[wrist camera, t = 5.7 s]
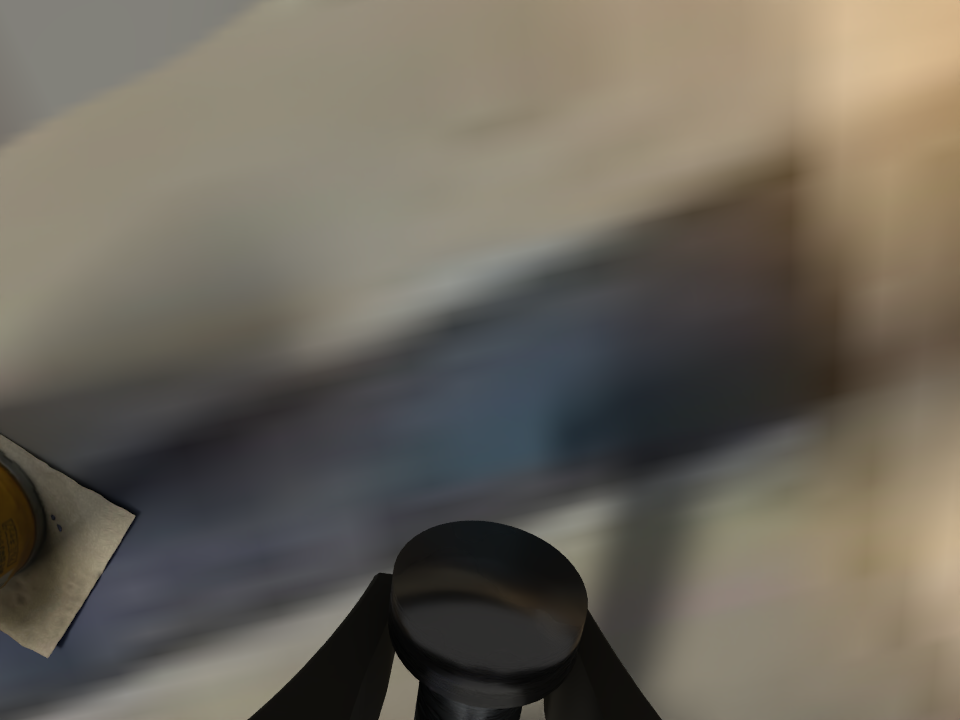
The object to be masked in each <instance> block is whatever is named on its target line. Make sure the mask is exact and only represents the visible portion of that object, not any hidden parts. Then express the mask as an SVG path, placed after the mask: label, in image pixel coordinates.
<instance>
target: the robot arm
mask: <svg viewBox="0 0 960 720" xmlns="http://www.w3.org/2000/svg"><path fill="white" fill-rule="evenodd" d="M392 577H393V574H386V573H378V574H377V575H375V576H374V578H373V580H372V581H371V583H370V585H369V586H368V588H367V589H366V591H365V592H364V594H363V595H362V597H361V598H360V600H359V601H358V602H357V604H356V605H355V606H354V608H353V609H352V610H351V612H350V613H349V614H348V616H347V617H346V618H345V619H344V621H343V622H342V623H341V624H340V626H339V627H338V628H337V629H336V631H335V632H334V633H333V634H332V636H331V637H330V638H329V639H328V640H327V641H326V643H325V644H324V645H323V646H322V647H321V648H320V649H319V650H318V651H317V653H316V654H315V655H314V656H313V657H312V658H311V659H310V660H309V661H308V662H307V664H306V665H305V666H304V667H303V668H302V669H301V670H300V671H299V672H298V673H297V674H296V675H295V676H294V677H293V678H292V679H291V680H290V681H289V682H288V683H287V684H286V685H285V686H284V687H283V688H282V689H281V690H280V691H279V692H278V693H277V694H276V695H275V696H274V697H273V698H271V699H270V700H269V701H268V702H267V703H266V704H265V705H264V706H263V707H262V708H260V709H259V710H258V711H257V712H256V713H255V714H254V715H252V716H251V717H250V718H249V719H248V720H378V719H379V716H380V712H381V709H382V706H383V702H384V699H385V696H386V692H387V688H388V683H389V678H390V674H391V669H392V664H393V659H394V654H395V650H394V648H393V645H392V642H391V639H390V636H389V629H388V612H389V603H390V594H391V586H392ZM544 712H545V719H546V720H662V719H661V718H660V717H659V715H658V714H657V713H656V711H655V710H654V709H653V707H652V706H651V705H650V703H649V702H648V701H647V699H646V698H645V697H644V695H643V694H642V692H641V691H640V689H639V688H638V687H637V685H636V684H635V682H634V681H633V679H632V678H631V676H630V675H629V673H628V672H627V671H626V669H625V668H624V666H623V665H622V663H621V662H620V660H619V659H618V657H617V656H616V654H615V652H614V651H613V649H612V648H611V646H610V645H609V643H608V641H607V640H606V638H605V637H604V635H603V633H602V632H601V630H600V628H599V627H598V625H597V624H596V622H595V620H594V619H593V617H592V615H591V614H590V612H589V610H587V614H586V619H585V623H584V627H583V631H582V636H581V640H580V644H579V648H578V652H577V656H576V661H575V663H574V666H573V668H572V671H571V672H570V674H569V675H568V677H567V679H566V680H565V681H564V682H563V683H562V684H561V685H560V686H559V688H557V689H556V690H555V691H553V692H552V693H551V694H549V695H548V696H546V697H544Z"/></svg>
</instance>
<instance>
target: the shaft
mask: <svg viewBox="0 0 960 720" xmlns="http://www.w3.org/2000/svg"><path fill="white" fill-rule="evenodd" d="M587 610H588V598H587V593H586V589H585V586H584V583H583V581H582V579H581V577H580V575H579V573H578V572H577V570H576V569H575V567H574V566H573V565H572V564H571V563H570V561H569V560H568V559H567V558H566V557H565V556H564V555H563V554H562V553H560V552H559V551H558V550H557V549H556V548H554V547H553V546H552V545H550V544H549V543H547V542H545V541H544V540H542V539H540V538H538V537H537V536H535V535H533V534H530V533H528V532H526V531H523V530H521V529H518V528H515V527H512V526H508V525H504V524H499V523H494V522H486V521H458V522H450V523H446V524H442V525H438V526H435V527H432V528H430V529H428V530H426V531H423V532H422V533H420V534H418V535H417V536H415V537H414V538H413V539H412V540H410V541H409V542H408V543H407V544H406V545H405V546H404V548H403V549H402V550H401V552H400V553H399V555H398V557H397V559H396V562H395V565H394V570H393V577H392V586H391V594H390V603H389V612H388V629H389V636H390V639H391V642H392V645H393V648H394V650H395V651H396V653H397V655H398V657H399V659H400V660H401V661H402V663H403V664H404V666H405V667H406V668H407V669H408V670H409V671H410V672H411V674H412V675H413V676H414V677H415V678H417V679H418V680H419V688H418V695H417V702H416V709H415V717H414V720H519V719H520V714H521V709H522V706H524V705H527V704H530V703H533V702H536V701H538V700H540V699H542V698H544V697H546V696H548V695H549V694H551V693H552V692H553V691H555V690H556V689H557V688H559V686H560V685H561V684H562V683H563V682H564V681H565V680H566V679H567V677H568V675H569V674H570V672H571V671H572V668H573V666H574V663H575V661H576V656H577V652H578V648H579V644H580V640H581V636H582V631H583V627H584V623H585V619H586V614H587Z"/></svg>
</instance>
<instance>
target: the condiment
mask: <svg viewBox="0 0 960 720" xmlns="http://www.w3.org/2000/svg"><path fill="white" fill-rule="evenodd" d="M52 514H53V515H54V516H55V518H56V519H55V520H52V519H51V515H52ZM134 518H135V515H133V514H131V513H130V512H128V511H126V510H125V509H123V508H121V507H118V506H116V505H114V504H112V503H111V502H109V501H108V500H106V499H105V498H103V497H102V496H101V495H100V494H98V493H96V492H94V491H92V490H90V489H87V488H84V487H82V486H81V485H79V484H78V483H76V482H75V481H74V480H72V479H71V478H69V477H67V476H66V475H64V474H63V473H61V472H59V471H56V470H54V469H52V468H50V467H49V466H48V465H47V464H46V463H44V462H43V461H41V460H39V459H37V458H35V457H34V456H33V455H32V454H30V453H28V452H27V451H25V450H24V449H23V448H21V447H19V446H18V445H16V444H15V443H13V442H12V441H10V440H9V439H7V438H5V437H4V436H2V435H0V630H1V631H3V632H4V633H6V634H8V635H9V636H10V637H12V638H13V639H14V640H16V641H17V642H18V643H19V644H21V645H22V646H24V647H26V648H29V649H32V650H34V651H35V652H37V653H39V654H41V655H43V656H45V657H47V658H48V657H49V656H50V654H51V653H52V651H53V650H54V648H55V646H56V645H57V643H58V641H59V640H60V639H61V638H62V636H63V635H64V633H65V631H66V630H67V628H68V627H69V625H70V623H71V622H72V620H73V618H74V617H75V615H76V613H77V612H78V610H79V609H80V608H81V606H82V604H83V603H84V601H85V599H86V598H87V596H88V595H89V593H90V591H91V589H92V588H93V586H94V584H95V583H96V581H97V580H98V578H99V577H100V576H101V574H102V573H103V570H104V568H105V566H106V564H107V562H108V561H109V559H110V558H111V556H112V554H113V553H114V551H115V550H116V548H117V547H118V545H119V544H120V542H121V540H122V538H123V536H124V534H125V533H126V531H127V529H128V528H129V526H130V524H131V523H132V521H133V520H134ZM57 524H59V525H61V527H62V531H61V532H60V531H59V529H58V528H57Z"/></svg>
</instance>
